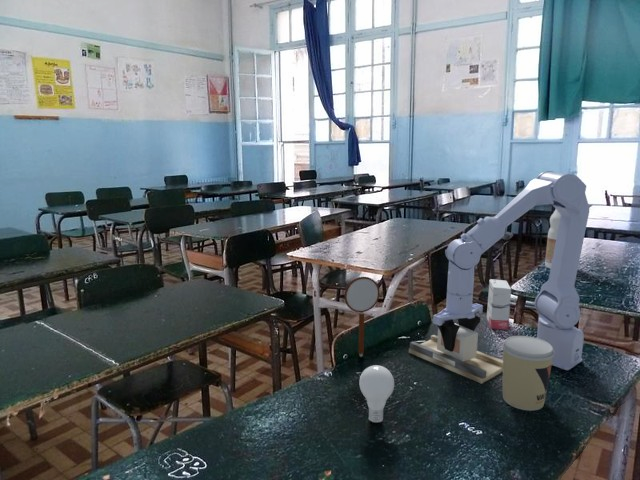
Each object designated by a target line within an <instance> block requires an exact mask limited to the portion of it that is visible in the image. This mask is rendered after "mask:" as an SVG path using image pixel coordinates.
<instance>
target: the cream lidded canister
mask: <svg viewBox="0 0 640 480" xmlns="http://www.w3.org/2000/svg"><path fill="white" fill-rule="evenodd" d="M502 351H503V352H502V360H503V372H502V398H503V400H504V402H505V403H506V404H507V405H508V406H510V407H513V408H516V409H518V410H522V411H531V412H532V411H538V410H541V409H542V408H543V407H544V405H545V401H546V399H547V398H546V397H547V392H548V387H549V381H550V375H551V369H552V366H553V365H552V359H553V356H554V350H553V347H552V346H551V345H550V344H549V343H548V342H546V341H544V340H541V339H538V338H537V337H535V336H534V337H533V336H528V335H512V336H509V337H507V338H506V339H504V341H503V342H502Z"/></svg>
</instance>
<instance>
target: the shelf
mask: <svg viewBox="0 0 640 480" xmlns="http://www.w3.org/2000/svg"><path fill="white" fill-rule="evenodd" d="M437 338H438V335H436V334H432V335H430V339H429V340H426V341H423V342H422V343H418V342H416V341H411V342H409V348H408V353H409V354H411V355H414V356H416V357H418V358H421V359H423V360H424V361H428V362H429V363H432V364H435V365H437V366H439V367H441V368H444V369H446V370H449V371H451V372H453V373H456V374H458V375H459V376H460V375H461V376H462V377H465V378H467V379H470V380H473V381H475V382H477V383H479V384H484V383H485V382H487V381H489V380H491V379H492V378H494V377H497V376H498V375H499V374H501V373H503V359H501V358H497V357H495V356H492V355H489V354H486V353H484V352H481V351H479V350H477V356H476V357H475V358H473V359H470V360H467V361H464V362H463V361H461V360H458V359H456V358H454V357H452V356H450V355H448V354H446V353H444V352H442V351H440V350H438V349H437Z"/></svg>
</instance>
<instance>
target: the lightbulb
mask: <svg viewBox="0 0 640 480" xmlns="http://www.w3.org/2000/svg"><path fill="white" fill-rule="evenodd" d="M358 380H359V382H358V383H359V389H360V391H361V394H362V395H363V397H365V400H366V404H367V406H368V420H369V421H370V422H372V423H374V424H377V423H381V422H383V420H384V409H385V406H386V402H387V400H388V399H389V397H391V396H392V394H393V392H394V388H395V380H394V376H393V374H392V372H391V371H390V370H389V369H388V368H386V367H385V366H382V365H376V364H375V365H374V364H373V365H370V366H368V367H366V368H365V369H364V370H363V371H362V373H361V374H360V376H359V379H358Z"/></svg>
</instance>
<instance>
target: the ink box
mask: <svg viewBox="0 0 640 480" xmlns="http://www.w3.org/2000/svg"><path fill="white" fill-rule="evenodd" d="M511 298H512V287H511V286H510V285H509V283H508V281H507V280H503V279H494V278H493V279H492V278H491V279H489V284H488V296H487V308H486V309H487V310H486V320H487V322H488V324H489V327H490V329H495V330H509V326H510V325H509V324H510V314H511V313H510V312H511Z"/></svg>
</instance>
